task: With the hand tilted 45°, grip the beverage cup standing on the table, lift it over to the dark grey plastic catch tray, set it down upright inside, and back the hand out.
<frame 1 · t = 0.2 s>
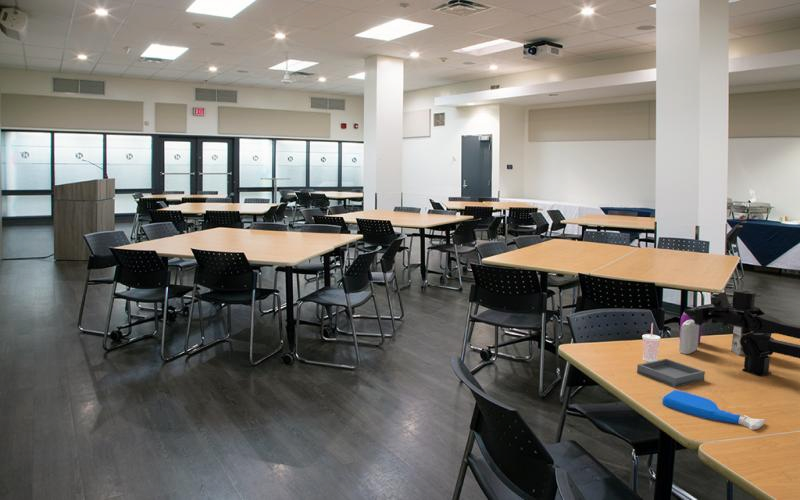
hand: (691, 309, 212), 17 cm above the table, tool horizontal, fingers open, 9 cm apart
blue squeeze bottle: (711, 415, 158), on the table
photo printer: (688, 351, 215), on the table
coffee box: (747, 354, 213), on the table
catch tray: (670, 376, 187), on the table
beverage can: (689, 342, 228), on the table
beverage cup: (649, 360, 204), on the table
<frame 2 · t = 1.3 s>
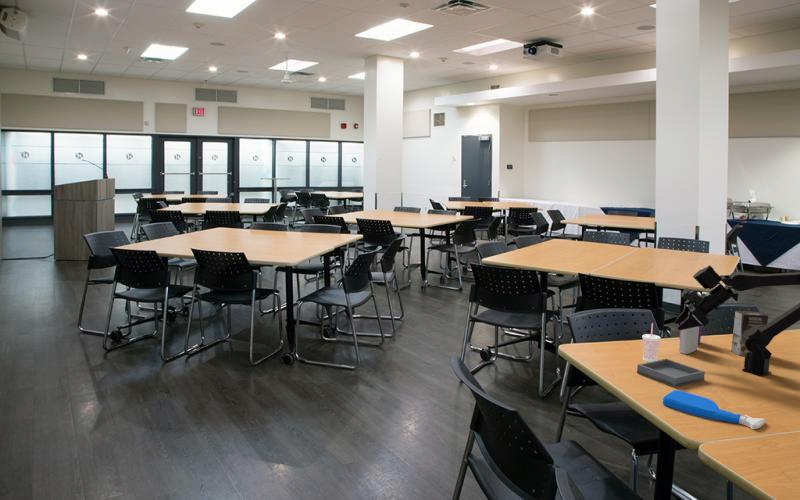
hand: (676, 326, 200), 14 cm above the table, tool tilted 45°, fingers open, 9 cm apart
nothing on the table moved.
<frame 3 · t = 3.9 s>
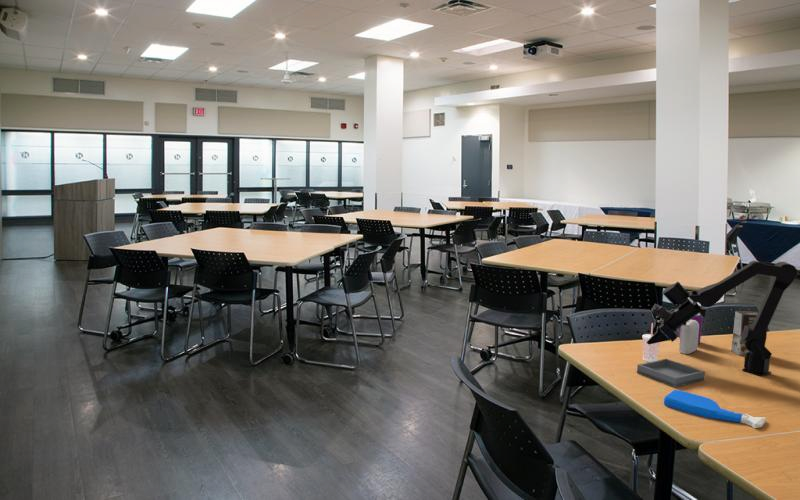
hand: (646, 340, 204), 7 cm above the table, tool tilted 45°, fingers closed on beverage cup, 6 cm apart
beverage cup: (649, 360, 204), on the table, touching gripper
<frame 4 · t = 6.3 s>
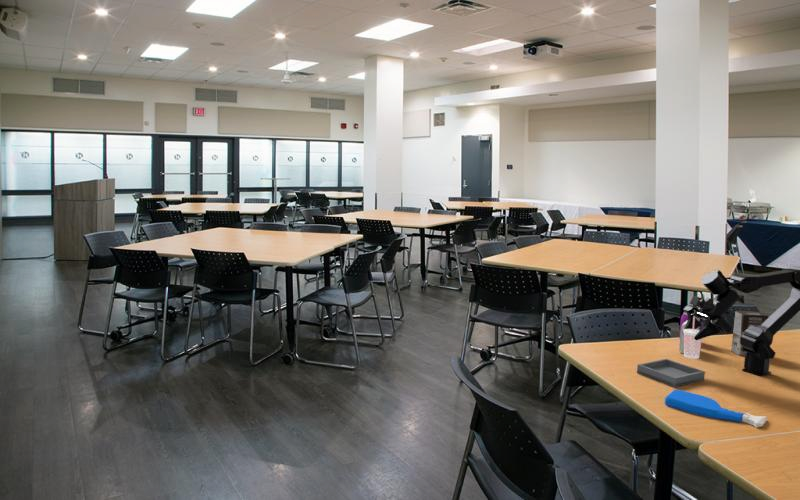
hand: (689, 336, 188), 13 cm above the table, tool tilted 45°, fingers closed on beverage cup, 6 cm apart
beverage cup: (691, 357, 189), point 6 cm above the table, touching gripper
when the fingers open (10 cm above the table, at t = 8.9 s): beverage cup drops 2 cm, resting on catch tray.
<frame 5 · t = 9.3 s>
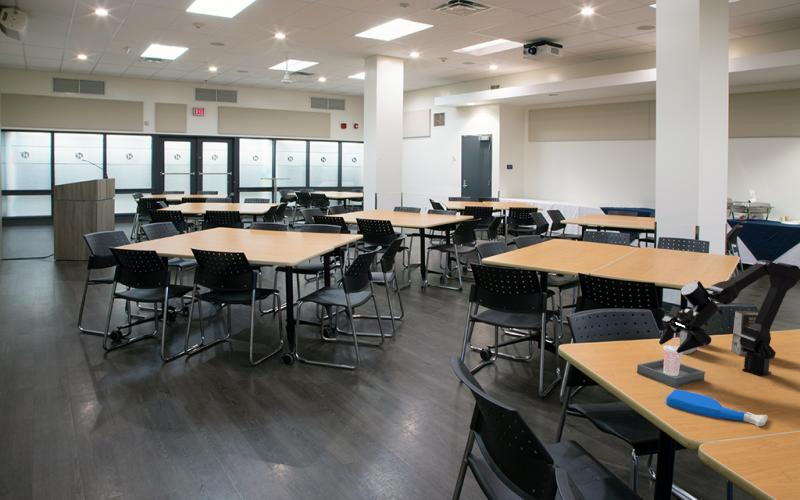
hand: (668, 347, 186), 10 cm above the table, tool tilted 45°, fingers open, 9 cm apart
beverage cup: (670, 374, 187), point 1 cm above the table, touching catch tray
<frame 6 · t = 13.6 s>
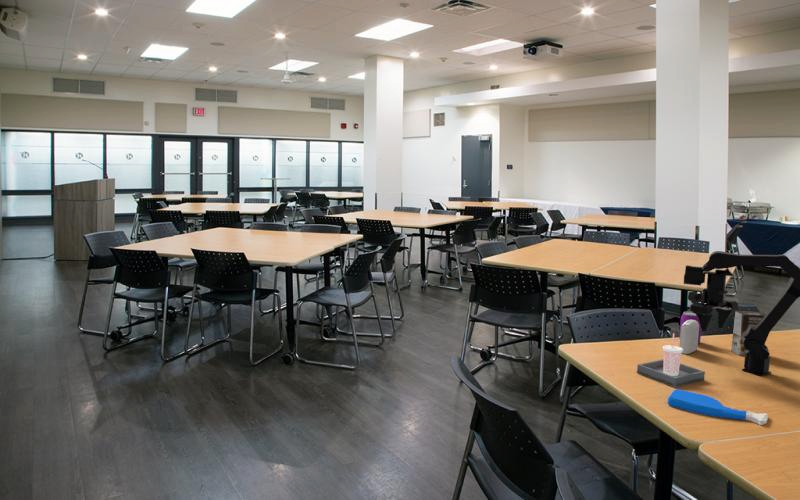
hand: (712, 329, 198), 13 cm above the table, tool pointing down, fingers open, 9 cm apart
at the end: beverage cup inside the target area on the catch tray (0.2 cm from its centre), point 0.8 cm above the catch tray's base; beverage cup tilted 0°; the gripper is holding nothing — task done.
